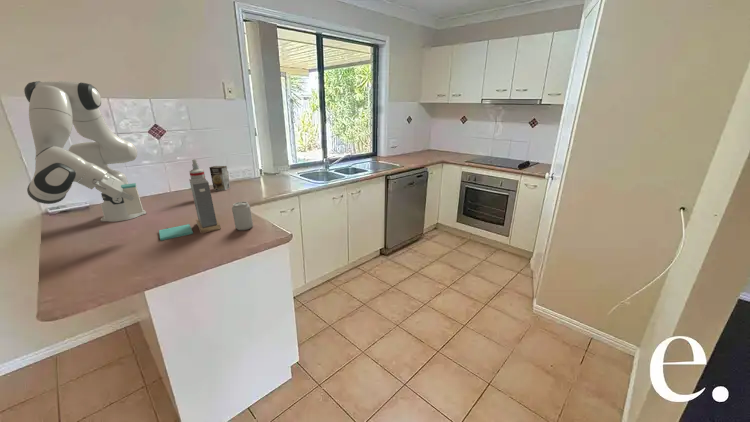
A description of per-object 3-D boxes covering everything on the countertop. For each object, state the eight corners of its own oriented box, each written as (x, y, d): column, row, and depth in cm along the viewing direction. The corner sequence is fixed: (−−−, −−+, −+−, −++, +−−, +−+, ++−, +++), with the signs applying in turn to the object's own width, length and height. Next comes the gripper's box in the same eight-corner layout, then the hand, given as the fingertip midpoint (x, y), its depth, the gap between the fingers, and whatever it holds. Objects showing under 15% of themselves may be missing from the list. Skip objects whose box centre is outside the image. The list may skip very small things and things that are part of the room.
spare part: (128, 211, 128) (120, 184, 124) (143, 209, 131) (135, 183, 127) (128, 214, 124) (119, 187, 120) (143, 212, 127) (135, 185, 123)
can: (236, 232, 134) (231, 206, 130) (235, 227, 140) (230, 202, 136) (254, 229, 137) (250, 203, 133) (252, 224, 143) (248, 199, 139)
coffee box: (213, 190, 208) (208, 167, 203) (219, 188, 214) (215, 165, 209) (225, 190, 207) (220, 167, 202) (231, 188, 213) (226, 165, 208)
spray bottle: (192, 200, 184) (183, 160, 176) (203, 197, 191) (195, 158, 183) (202, 201, 182) (192, 160, 174) (212, 198, 188) (204, 158, 180)
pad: (159, 232, 136) (158, 230, 136) (189, 226, 143) (189, 224, 142) (160, 240, 127) (160, 238, 127) (193, 233, 134) (192, 231, 133)
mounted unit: (196, 223, 145) (186, 179, 138) (214, 220, 150) (205, 176, 143) (201, 233, 134) (190, 185, 127) (220, 228, 138) (211, 182, 131)
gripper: (97, 175, 110) (138, 196, 118) (103, 167, 126) (138, 186, 134) (85, 189, 109) (127, 209, 117) (92, 180, 124) (129, 198, 133)
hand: (133, 197), depth 126 cm, fingers closed on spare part, 5 cm apart
